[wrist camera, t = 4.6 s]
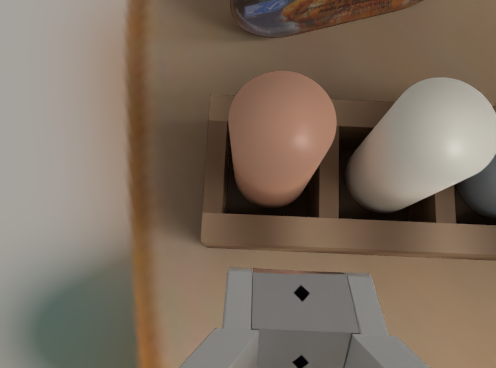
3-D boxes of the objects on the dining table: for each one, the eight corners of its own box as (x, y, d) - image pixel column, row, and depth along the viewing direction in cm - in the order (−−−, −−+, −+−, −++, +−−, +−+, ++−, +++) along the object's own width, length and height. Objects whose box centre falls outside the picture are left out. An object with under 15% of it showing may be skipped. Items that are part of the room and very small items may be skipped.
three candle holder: (207, 247, 27) (200, 241, 23) (215, 119, 29) (210, 94, 25) (528, 261, 27) (577, 258, 23) (517, 132, 28) (560, 109, 24)
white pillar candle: (376, 127, 25) (435, 57, 17) (434, 174, 25) (521, 124, 17) (329, 178, 24) (368, 130, 17) (387, 228, 24) (456, 203, 16)
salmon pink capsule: (268, 122, 25) (278, 50, 17) (323, 169, 25) (358, 117, 17) (218, 174, 24) (205, 123, 17) (274, 223, 24) (287, 196, 16)
